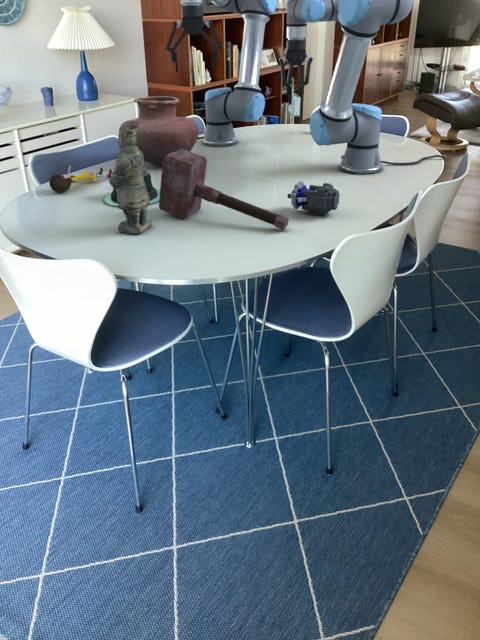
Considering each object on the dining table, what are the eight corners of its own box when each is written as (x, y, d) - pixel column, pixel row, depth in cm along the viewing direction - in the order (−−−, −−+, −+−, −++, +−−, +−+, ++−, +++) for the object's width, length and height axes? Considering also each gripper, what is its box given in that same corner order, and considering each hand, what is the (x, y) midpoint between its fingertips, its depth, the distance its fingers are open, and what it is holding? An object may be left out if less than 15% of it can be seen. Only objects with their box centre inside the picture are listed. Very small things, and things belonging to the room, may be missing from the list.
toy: (295, 178, 172) (342, 184, 166) (295, 205, 177) (340, 211, 171) (285, 186, 166) (333, 192, 160) (284, 213, 170) (331, 220, 164)
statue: (131, 220, 168) (117, 116, 152) (158, 224, 164) (147, 118, 149) (109, 233, 159) (93, 124, 144) (138, 237, 156) (124, 126, 140)
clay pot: (207, 155, 234) (203, 91, 222) (188, 175, 209) (184, 105, 196) (138, 153, 239) (131, 91, 226) (112, 172, 214) (103, 104, 201)
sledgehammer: (299, 190, 156) (179, 147, 167) (285, 200, 148) (161, 154, 160) (286, 244, 166) (174, 200, 177) (272, 256, 158) (156, 209, 170)
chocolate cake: (91, 202, 180) (113, 186, 197) (142, 231, 182) (160, 212, 199) (107, 162, 172) (129, 148, 190) (160, 192, 174) (177, 176, 192)
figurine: (118, 166, 204) (64, 174, 185) (119, 186, 207) (65, 196, 188) (93, 161, 211) (38, 168, 191) (95, 181, 214) (40, 190, 195)
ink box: (295, 112, 231) (297, 75, 224) (299, 116, 222) (302, 78, 215) (287, 112, 230) (289, 75, 223) (291, 116, 222) (293, 78, 215)
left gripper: (227, 3, 197) (228, 68, 207) (156, 5, 195) (162, 71, 206) (228, 3, 190) (230, 71, 201) (155, 5, 189) (160, 73, 200)
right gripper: (314, 37, 216) (312, 101, 228) (274, 39, 215) (273, 103, 227) (319, 39, 210) (316, 104, 221) (276, 40, 208) (276, 106, 220)
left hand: (195, 71), depth 204 cm, fingers open, 13 cm apart
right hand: (294, 103), depth 224 cm, fingers closed on ink box, 3 cm apart
